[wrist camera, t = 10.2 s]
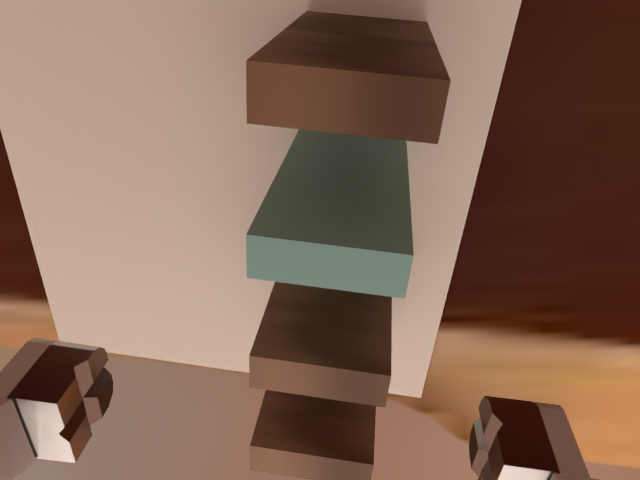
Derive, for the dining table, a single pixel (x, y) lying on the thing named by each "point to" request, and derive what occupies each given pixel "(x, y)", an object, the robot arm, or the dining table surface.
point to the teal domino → (336, 216)
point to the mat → (207, 166)
